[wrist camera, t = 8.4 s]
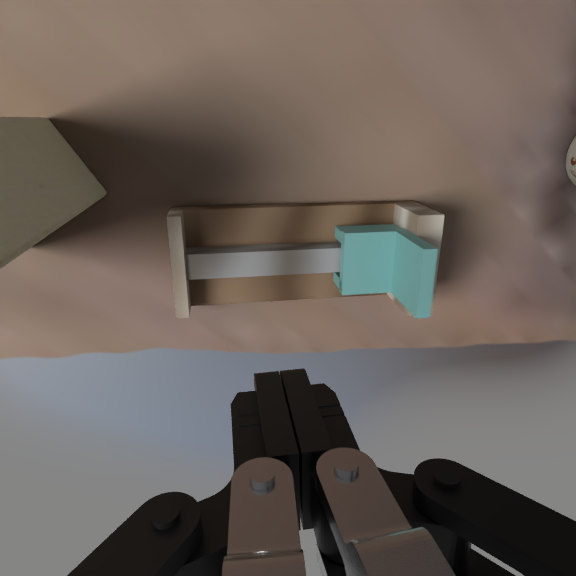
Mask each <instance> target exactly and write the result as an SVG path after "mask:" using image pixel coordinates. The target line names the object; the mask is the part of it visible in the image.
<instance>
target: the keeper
mask: <svg viewBox="0 0 576 576" xmlns="http://www.w3.org/2000/svg"><path fill="white" fill-rule="evenodd" d="M335 238H336V239H337V240H338V241H339V242H340V243H341V256H340V272H334V273H333V281H334V282H335V284H336V285H337V287H338V288H339V291H340V293H341V294H342V295H356V294H373V293H392V294H393V295H394V296H395V297H396V298H397V299H398V300H399V301H400V302H401V303H402V304H403V305H404V306H405V307H406V308H407V309H408V310H409V311H410V313H411V314H412V315H413V316H414V317H415V318H429V317H430V311H431V303H432V295H433V286H434V278H435V270H436V261H437V253H438V249H437V248H436V247H434V246H433V245H431V244H429V243H428V242H426V241H424V240H423V239H421V238H419V237H418V236H416V235H414V234H413V233H411V232H409V231H408V230H406V229H405V228H400V227H398V226H396V225H395V224H382V225H355V226H335Z"/></svg>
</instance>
